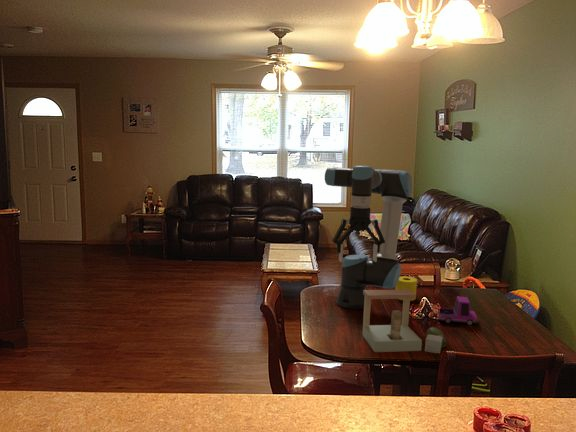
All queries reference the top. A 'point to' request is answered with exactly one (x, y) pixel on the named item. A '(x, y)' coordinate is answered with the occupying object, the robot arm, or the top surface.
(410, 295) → the beige arch frame
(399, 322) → the peg
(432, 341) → the small box
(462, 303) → the toy truck
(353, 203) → the robot arm
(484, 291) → the top surface
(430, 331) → the pear
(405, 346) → the socket board
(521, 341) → the top surface
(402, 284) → the tape roll
